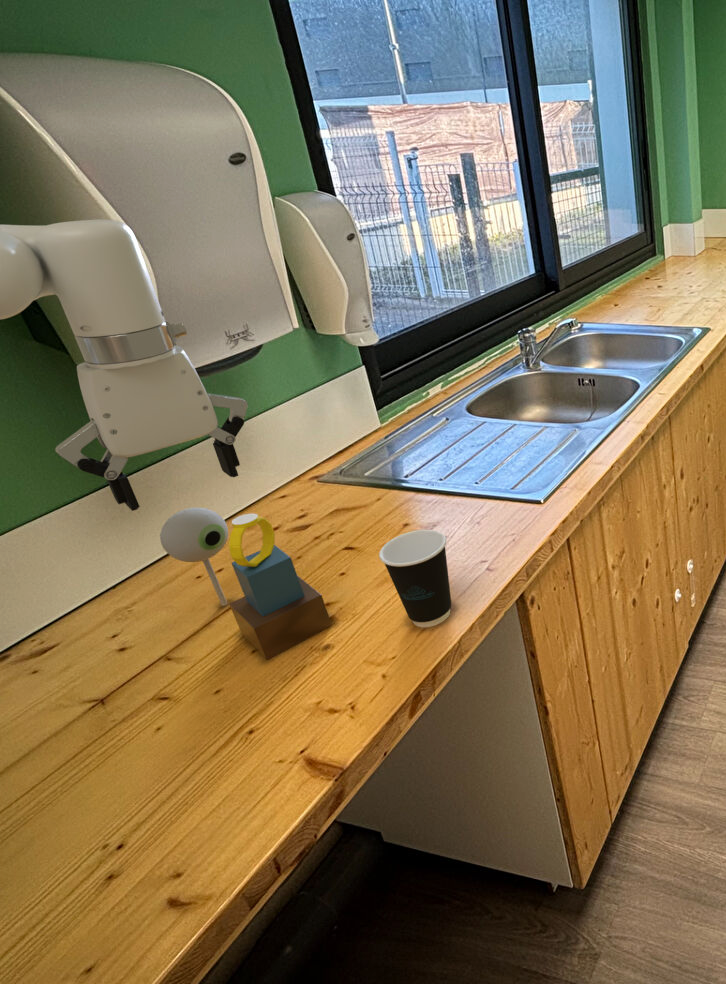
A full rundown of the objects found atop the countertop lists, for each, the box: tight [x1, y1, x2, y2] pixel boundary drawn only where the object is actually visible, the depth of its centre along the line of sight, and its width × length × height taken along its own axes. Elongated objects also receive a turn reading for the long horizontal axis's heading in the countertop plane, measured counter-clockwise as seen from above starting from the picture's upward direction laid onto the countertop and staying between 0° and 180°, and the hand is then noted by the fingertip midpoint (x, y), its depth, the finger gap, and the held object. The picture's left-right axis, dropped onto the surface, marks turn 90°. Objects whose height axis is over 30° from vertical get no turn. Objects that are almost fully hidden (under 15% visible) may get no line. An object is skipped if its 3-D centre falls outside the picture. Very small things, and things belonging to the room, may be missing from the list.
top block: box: [231, 544, 305, 616], centre depth 88 cm, size 5×5×6 cm
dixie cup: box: [378, 529, 452, 628], centre depth 90 cm, size 8×8×11 cm
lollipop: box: [159, 507, 229, 607], centre depth 93 cm, size 7×7×15 cm
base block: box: [228, 574, 333, 661], centre depth 90 cm, size 8×8×5 cm
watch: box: [228, 512, 276, 567], centre depth 85 cm, size 6×3×6 cm, turn 177°
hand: (183, 489), depth 80 cm, fingers open, 9 cm apart
